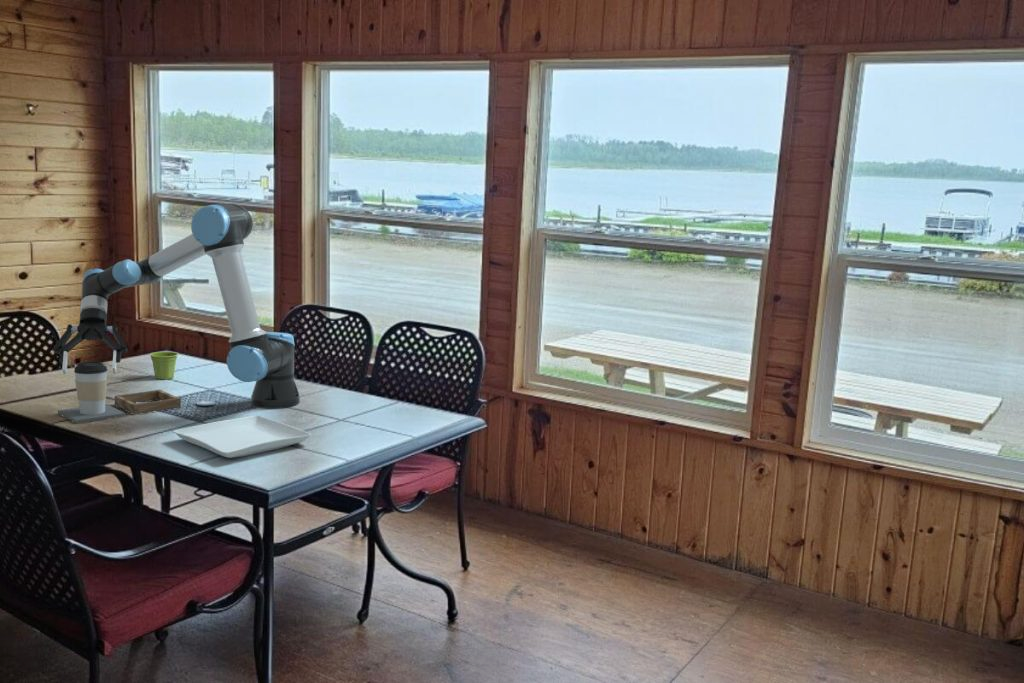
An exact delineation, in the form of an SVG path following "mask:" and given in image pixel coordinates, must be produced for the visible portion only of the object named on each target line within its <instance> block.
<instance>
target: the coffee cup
mask: <svg viewBox="0 0 1024 683" xmlns="http://www.w3.org/2000/svg"><path fill="white" fill-rule="evenodd" d="M108 370H109V369H108V367H107V365H105V364H104V363H103V361H102V362H101V361H97V360H95V361H93V360H91V361H83V362H79V363H78V364H77V366H75V367H74V371H73V372H74V376H75V389H76V396H77V400H78V406H79V409H80V413H81V414H86V415H94V414H100V413H103V412H105V404H106V401H107V400H106V398H107V387H108V377H107V374H108Z"/></svg>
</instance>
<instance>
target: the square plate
mask: <svg viewBox="0 0 1024 683" xmlns="http://www.w3.org/2000/svg"><path fill="white" fill-rule="evenodd" d="M172 433H173V434H175V435H176V436H178V438H180V439H182V440H184V441H186V442H188V443H190V444H192V445H196V446H198V447H200V446H201V448H203V449H205V448H206V450H208V451H211V452H213V453H215V454H217V455H219V456H221V457H225V458H227V459H228V458H229V459H232V458H233V459H234V458H242V457H247V456H252V455H256V454H260V453H265V452H270V451H273V450H277V449H282V448H287V447H289V446H291V445H296V444H300V443H302V442H305V441H306V440H308V439H309V438H310V437H311V436H312V433H311V432H307V431H305V430H303V429H300V428H297V427H294V426H292V425H288V424H286V423H283V422H280V421H277V420H275V419H274V420H273V419H272V418H271V419H270V418H267V417H264V416H261V415H251V416H245V417H237V418H232V419H227V420H218V421H215V422H208V423H203V424H197V425H193V426H188V427H184V428H180V429H179V428H178V429H175V430H173V431H172Z"/></svg>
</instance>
